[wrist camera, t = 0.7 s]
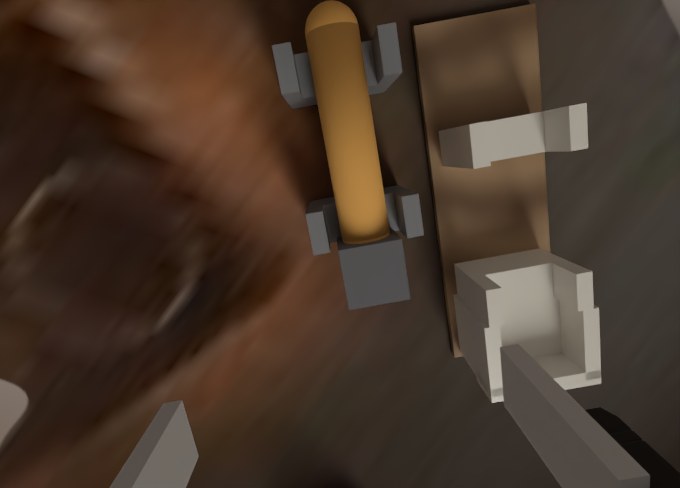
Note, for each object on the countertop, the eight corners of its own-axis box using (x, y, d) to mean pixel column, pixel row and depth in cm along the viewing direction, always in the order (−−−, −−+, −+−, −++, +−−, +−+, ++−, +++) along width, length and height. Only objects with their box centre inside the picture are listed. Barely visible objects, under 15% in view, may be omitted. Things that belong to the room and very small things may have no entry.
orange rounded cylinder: (296, 17, 27) (290, -8, 23) (357, 6, 27) (363, -21, 23) (346, 289, 32) (349, 310, 28) (399, 279, 32) (410, 299, 28)
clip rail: (411, 28, 32) (413, 25, 32) (530, 7, 32) (535, 3, 32) (452, 353, 39) (454, 357, 38) (550, 335, 39) (555, 339, 38)
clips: (433, 132, 34) (463, 125, 26) (535, 113, 34) (592, 101, 26) (460, 356, 38) (491, 402, 31) (549, 340, 38) (601, 383, 31)
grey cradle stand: (284, 72, 33) (271, 45, 25) (378, 54, 33) (395, 22, 25) (316, 233, 36) (313, 255, 28) (402, 217, 36) (423, 235, 28)
